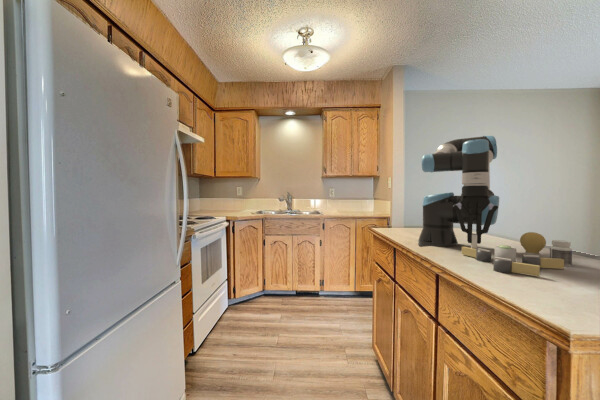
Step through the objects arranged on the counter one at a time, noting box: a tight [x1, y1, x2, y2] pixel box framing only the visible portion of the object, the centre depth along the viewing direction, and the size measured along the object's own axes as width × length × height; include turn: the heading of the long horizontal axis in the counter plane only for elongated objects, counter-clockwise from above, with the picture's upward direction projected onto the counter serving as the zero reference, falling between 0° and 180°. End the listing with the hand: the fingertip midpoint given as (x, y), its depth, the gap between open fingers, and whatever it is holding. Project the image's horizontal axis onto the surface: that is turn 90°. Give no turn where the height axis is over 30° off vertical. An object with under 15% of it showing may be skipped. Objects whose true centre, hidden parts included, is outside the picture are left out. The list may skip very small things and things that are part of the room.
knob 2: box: [493, 256, 541, 277], centre depth 68 cm, size 10×4×4 cm, turn 46°
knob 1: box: [461, 246, 493, 263], centre depth 83 cm, size 10×4×4 cm, turn 15°
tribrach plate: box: [494, 244, 517, 262], centre depth 74 cm, size 18×18×7 cm
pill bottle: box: [549, 239, 573, 267], centre depth 76 cm, size 5×5×8 cm
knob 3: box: [521, 254, 565, 270], centre depth 72 cm, size 10×4×4 cm, turn 75°
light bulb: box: [519, 231, 547, 258], centre depth 83 cm, size 6×6×10 cm
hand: (473, 252), depth 86 cm, fingers closed
